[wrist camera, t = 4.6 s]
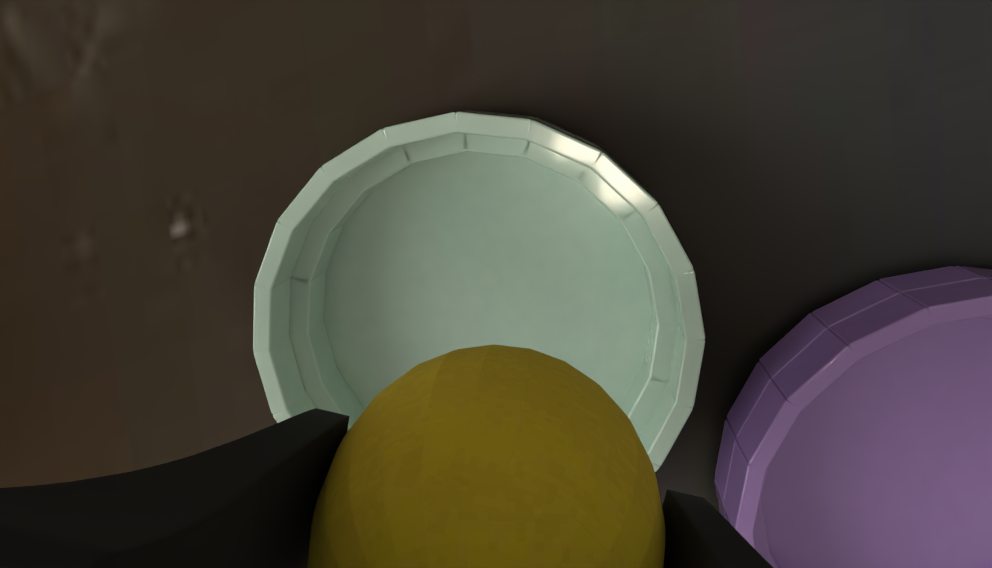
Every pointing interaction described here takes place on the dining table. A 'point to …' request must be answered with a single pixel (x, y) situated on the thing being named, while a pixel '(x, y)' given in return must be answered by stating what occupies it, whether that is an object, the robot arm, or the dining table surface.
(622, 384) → the celadon bowl
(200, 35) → the dining table surface
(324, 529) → the lemon
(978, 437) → the lavender bowl
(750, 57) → the dining table surface
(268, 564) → the robot arm
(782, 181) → the dining table surface
